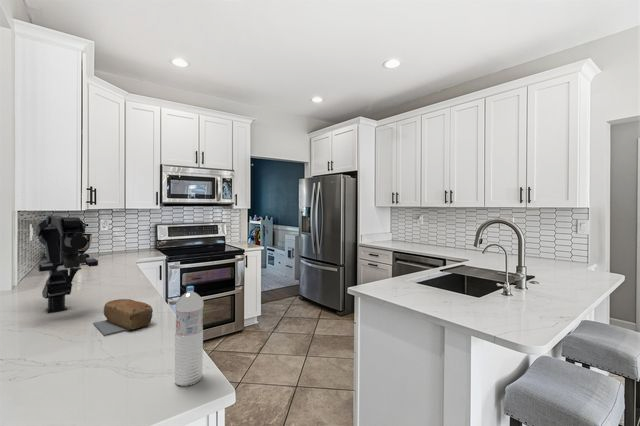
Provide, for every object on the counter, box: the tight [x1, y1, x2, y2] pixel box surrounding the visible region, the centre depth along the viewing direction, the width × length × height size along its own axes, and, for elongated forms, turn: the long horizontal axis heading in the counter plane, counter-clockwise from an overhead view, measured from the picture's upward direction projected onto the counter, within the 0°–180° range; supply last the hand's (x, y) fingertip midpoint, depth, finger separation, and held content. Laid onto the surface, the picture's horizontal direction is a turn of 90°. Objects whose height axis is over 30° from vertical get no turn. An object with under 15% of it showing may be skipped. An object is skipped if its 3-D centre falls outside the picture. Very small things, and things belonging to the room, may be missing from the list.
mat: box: [92, 319, 149, 337], centre depth 117 cm, size 16×14×1 cm
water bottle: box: [174, 285, 205, 387], centre depth 81 cm, size 7×7×25 cm
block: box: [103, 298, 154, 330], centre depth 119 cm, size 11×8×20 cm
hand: (68, 285), depth 125 cm, fingers closed
